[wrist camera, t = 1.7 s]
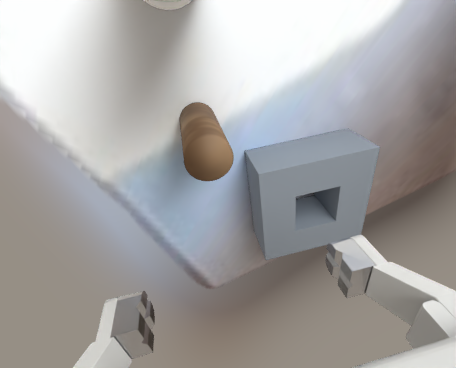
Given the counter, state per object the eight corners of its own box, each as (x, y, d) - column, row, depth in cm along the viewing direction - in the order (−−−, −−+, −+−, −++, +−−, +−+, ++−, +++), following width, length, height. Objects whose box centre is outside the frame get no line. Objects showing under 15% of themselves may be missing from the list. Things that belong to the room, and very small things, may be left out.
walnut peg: (211, 99, 28) (229, 131, 19) (217, 133, 30) (236, 175, 22) (175, 106, 27) (178, 142, 19) (184, 140, 30) (190, 185, 21)
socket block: (348, 128, 33) (380, 146, 28) (337, 210, 41) (360, 235, 36) (244, 150, 32) (258, 174, 27) (253, 230, 40) (265, 260, 35)
